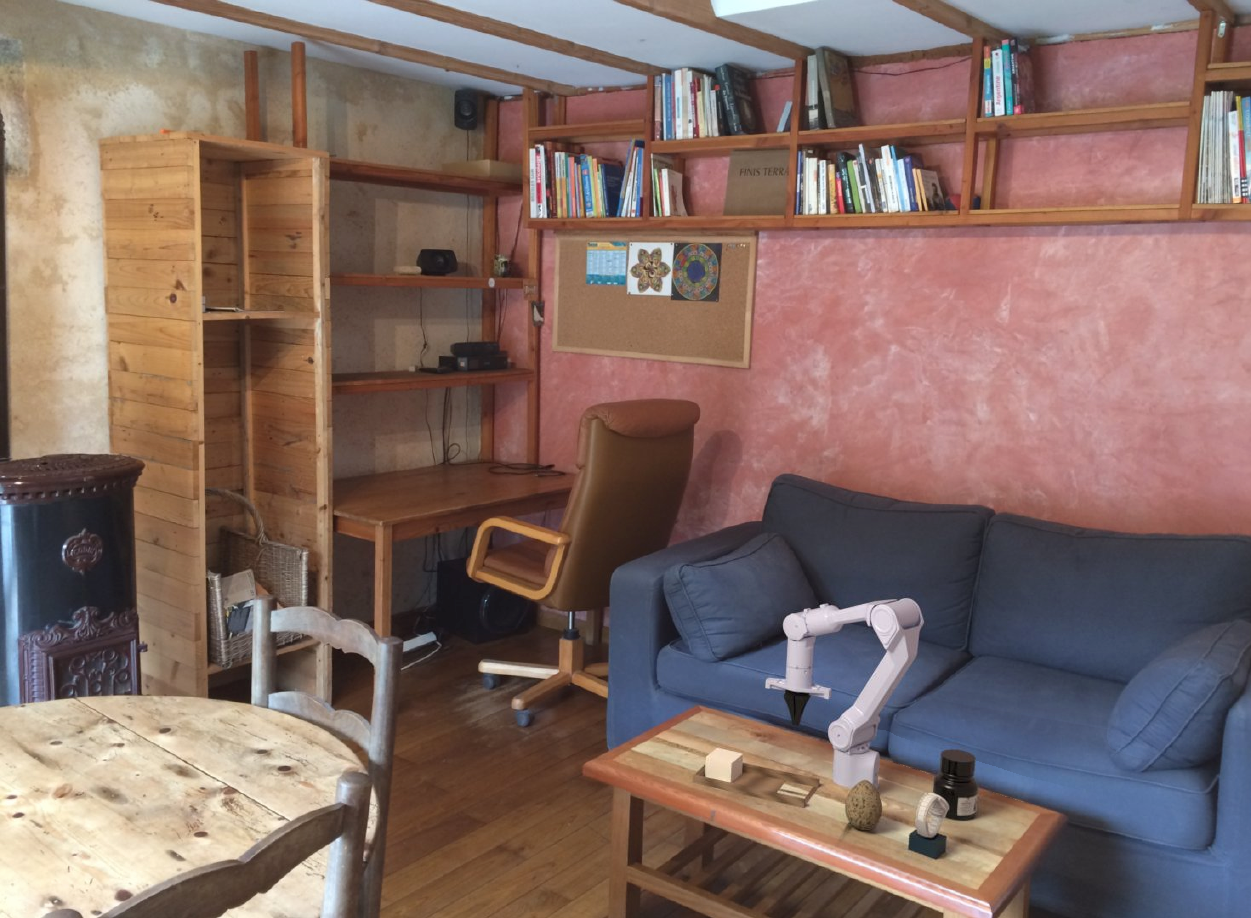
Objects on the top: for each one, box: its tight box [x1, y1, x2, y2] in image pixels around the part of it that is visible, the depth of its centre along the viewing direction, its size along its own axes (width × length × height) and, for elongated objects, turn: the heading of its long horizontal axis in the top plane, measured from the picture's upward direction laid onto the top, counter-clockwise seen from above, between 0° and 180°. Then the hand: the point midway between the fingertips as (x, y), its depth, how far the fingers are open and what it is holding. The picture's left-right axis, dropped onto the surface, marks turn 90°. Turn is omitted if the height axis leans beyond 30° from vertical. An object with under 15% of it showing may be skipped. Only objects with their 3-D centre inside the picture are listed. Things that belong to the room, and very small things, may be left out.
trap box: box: [692, 762, 821, 809], centre depth 232 cm, size 24×12×3 cm, turn 65°
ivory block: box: [704, 747, 744, 783], centre depth 236 cm, size 6×6×4 cm
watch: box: [907, 792, 949, 860], centre depth 208 cm, size 6×8×11 cm
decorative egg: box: [844, 780, 883, 831], centre depth 217 cm, size 7×7×10 cm
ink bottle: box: [932, 748, 979, 821], centre depth 225 cm, size 10×9×12 cm
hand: (796, 723), depth 246 cm, fingers closed
